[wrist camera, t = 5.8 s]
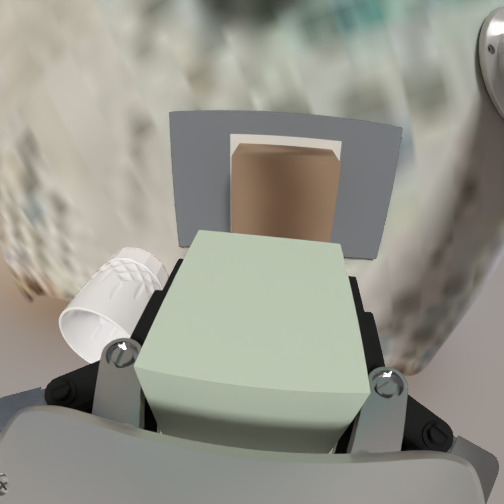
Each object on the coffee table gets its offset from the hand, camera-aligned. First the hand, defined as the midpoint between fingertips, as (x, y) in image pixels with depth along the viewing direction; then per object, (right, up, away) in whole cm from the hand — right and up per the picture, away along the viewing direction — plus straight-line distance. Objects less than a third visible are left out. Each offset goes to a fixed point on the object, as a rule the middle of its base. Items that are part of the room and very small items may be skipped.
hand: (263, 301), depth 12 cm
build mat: (+2, +7, +13) cm, 15 cm away
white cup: (-12, 0, +19) cm, 23 cm away
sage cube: (0, 0, +1) cm, 1 cm away
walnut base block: (+2, +7, +13) cm, 15 cm away
